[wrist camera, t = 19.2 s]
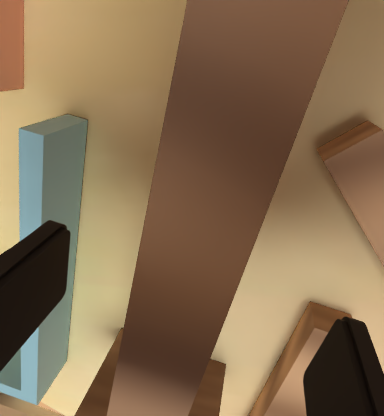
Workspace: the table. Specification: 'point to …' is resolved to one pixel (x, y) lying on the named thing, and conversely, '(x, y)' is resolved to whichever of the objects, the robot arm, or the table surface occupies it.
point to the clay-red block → (11, 44)
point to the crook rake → (211, 195)
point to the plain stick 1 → (296, 364)
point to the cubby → (29, 221)
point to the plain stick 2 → (360, 177)
